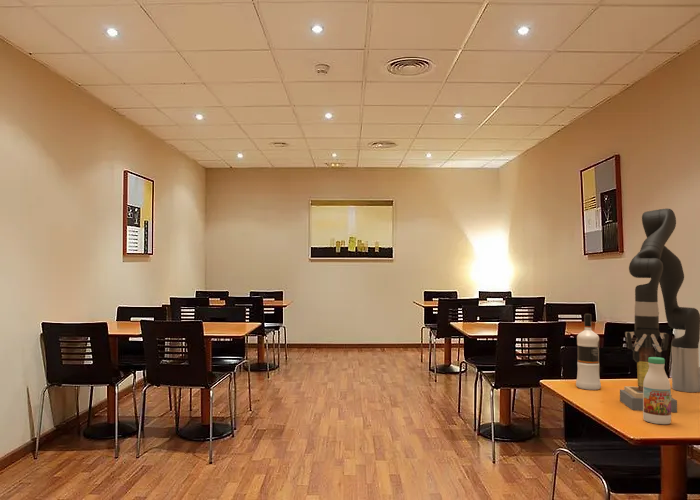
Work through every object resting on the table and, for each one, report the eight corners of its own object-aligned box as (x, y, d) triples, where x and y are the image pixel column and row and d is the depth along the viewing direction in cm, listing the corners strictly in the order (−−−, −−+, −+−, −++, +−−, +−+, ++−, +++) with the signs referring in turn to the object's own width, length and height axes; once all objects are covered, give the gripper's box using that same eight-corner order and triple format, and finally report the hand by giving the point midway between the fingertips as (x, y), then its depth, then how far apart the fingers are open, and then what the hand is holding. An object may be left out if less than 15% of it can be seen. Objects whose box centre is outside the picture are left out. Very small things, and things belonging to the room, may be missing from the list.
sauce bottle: (660, 393, 189) (659, 335, 190) (640, 392, 190) (640, 335, 191) (653, 389, 195) (653, 333, 196) (634, 388, 197) (634, 333, 197)
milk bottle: (637, 418, 176) (637, 355, 177) (660, 418, 177) (660, 355, 177) (653, 425, 168) (652, 359, 169) (676, 424, 169) (676, 359, 170)
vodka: (579, 384, 229) (579, 312, 230) (603, 387, 223) (602, 313, 224) (573, 388, 221) (572, 313, 223) (597, 391, 216) (597, 315, 217)
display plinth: (661, 402, 198) (661, 387, 198) (677, 412, 184) (676, 395, 184) (619, 400, 201) (619, 385, 201) (632, 410, 187) (632, 393, 187)
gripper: (664, 314, 196) (665, 361, 195) (621, 313, 199) (621, 359, 198) (672, 315, 189) (673, 364, 188) (628, 314, 191) (628, 363, 191)
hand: (646, 361), depth 193 cm, fingers closed on sauce bottle, 6 cm apart
